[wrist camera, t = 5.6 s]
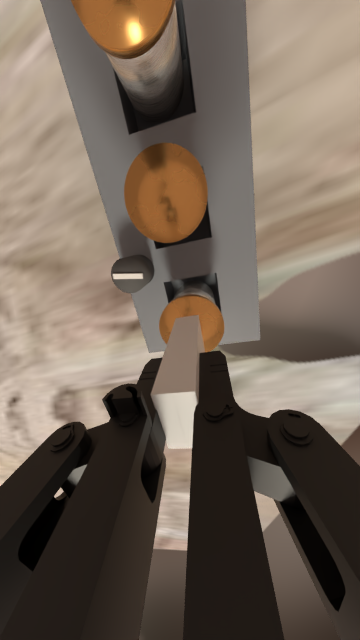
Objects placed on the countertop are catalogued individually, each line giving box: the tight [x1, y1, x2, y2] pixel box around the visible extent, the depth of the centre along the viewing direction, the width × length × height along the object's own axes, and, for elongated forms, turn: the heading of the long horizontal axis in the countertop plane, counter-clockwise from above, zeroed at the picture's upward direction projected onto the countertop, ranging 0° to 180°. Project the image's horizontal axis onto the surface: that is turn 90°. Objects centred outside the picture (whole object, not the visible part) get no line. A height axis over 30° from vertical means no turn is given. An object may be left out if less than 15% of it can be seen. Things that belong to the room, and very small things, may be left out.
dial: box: [111, 255, 154, 293], centre depth 16 cm, size 3×3×3 cm
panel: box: [40, 0, 260, 353], centre depth 18 cm, size 26×12×6 cm, turn 11°
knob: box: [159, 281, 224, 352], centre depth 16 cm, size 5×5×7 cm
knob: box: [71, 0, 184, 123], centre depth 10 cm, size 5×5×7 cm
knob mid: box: [124, 143, 208, 243], centre depth 13 cm, size 5×5×7 cm
